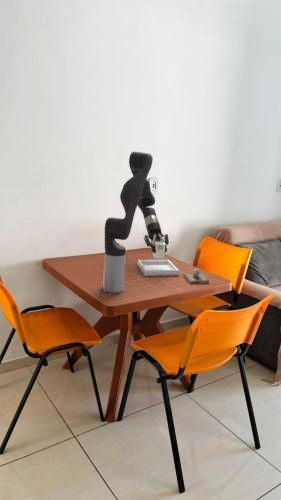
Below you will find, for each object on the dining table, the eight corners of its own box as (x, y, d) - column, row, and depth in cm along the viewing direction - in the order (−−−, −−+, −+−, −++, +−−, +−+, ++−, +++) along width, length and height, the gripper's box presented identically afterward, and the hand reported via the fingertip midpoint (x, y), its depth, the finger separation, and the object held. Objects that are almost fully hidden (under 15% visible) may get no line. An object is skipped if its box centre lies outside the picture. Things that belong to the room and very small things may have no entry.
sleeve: (155, 259, 200) (156, 244, 198) (152, 255, 206) (153, 241, 204) (164, 259, 201) (166, 244, 199) (161, 255, 207) (162, 241, 205)
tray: (145, 276, 196) (145, 270, 195) (137, 265, 212) (137, 260, 212) (178, 275, 200) (178, 270, 199) (168, 265, 217) (168, 259, 216)
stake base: (189, 283, 189) (190, 273, 188) (183, 276, 198) (184, 266, 197) (208, 283, 191) (209, 272, 190) (201, 276, 201) (202, 266, 199)
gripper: (142, 221, 203) (150, 249, 196) (166, 221, 209) (175, 248, 202) (138, 229, 209) (145, 256, 202) (161, 228, 215) (169, 255, 208)
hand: (160, 252), depth 202 cm, fingers closed on sleeve, 5 cm apart
